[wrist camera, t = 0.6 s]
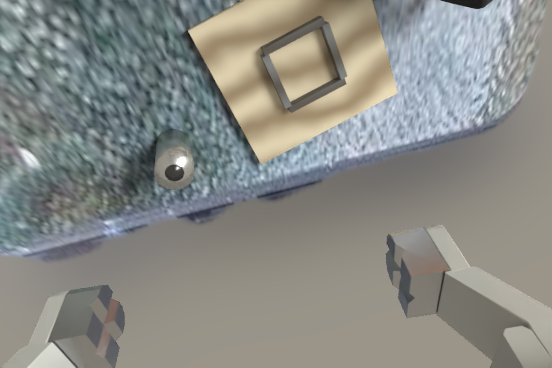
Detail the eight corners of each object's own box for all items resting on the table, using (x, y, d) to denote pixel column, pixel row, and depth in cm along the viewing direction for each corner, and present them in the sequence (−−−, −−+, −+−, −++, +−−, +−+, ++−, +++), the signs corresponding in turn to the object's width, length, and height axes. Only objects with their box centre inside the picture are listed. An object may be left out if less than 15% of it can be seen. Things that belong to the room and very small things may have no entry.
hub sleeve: (149, 139, 57) (146, 167, 49) (179, 123, 57) (181, 148, 49) (168, 165, 60) (168, 196, 52) (197, 150, 59) (201, 178, 52)
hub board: (187, 29, 51) (188, 32, 49) (352, -59, 50) (361, -60, 48) (259, 161, 63) (263, 168, 60) (394, 90, 62) (402, 95, 60)
